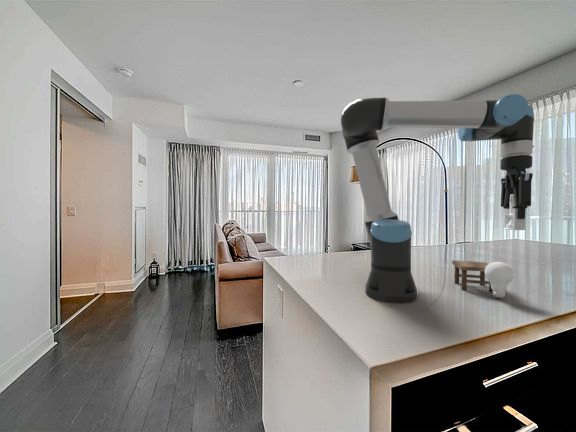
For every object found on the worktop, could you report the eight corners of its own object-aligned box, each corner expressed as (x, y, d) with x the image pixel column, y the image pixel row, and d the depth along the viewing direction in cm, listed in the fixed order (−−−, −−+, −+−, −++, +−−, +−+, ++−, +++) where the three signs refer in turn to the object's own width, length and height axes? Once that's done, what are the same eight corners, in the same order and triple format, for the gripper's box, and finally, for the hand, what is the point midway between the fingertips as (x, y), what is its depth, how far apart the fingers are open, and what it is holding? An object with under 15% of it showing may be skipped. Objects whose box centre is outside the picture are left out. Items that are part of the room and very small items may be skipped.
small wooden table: (461, 290, 81) (461, 266, 81) (452, 282, 90) (452, 260, 90) (498, 293, 78) (498, 268, 77) (485, 284, 87) (485, 262, 87)
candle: (500, 228, 83) (501, 193, 83) (520, 229, 81) (522, 192, 81) (507, 230, 78) (508, 192, 78) (529, 230, 76) (530, 191, 76)
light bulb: (508, 296, 75) (508, 260, 75) (517, 304, 69) (518, 265, 69) (481, 293, 78) (481, 259, 78) (488, 300, 72) (488, 263, 72)
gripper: (550, 149, 69) (547, 231, 70) (515, 161, 87) (513, 227, 87) (516, 151, 72) (514, 230, 73) (489, 162, 89) (487, 226, 90)
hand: (513, 228), depth 80 cm, fingers closed on candle, 5 cm apart
